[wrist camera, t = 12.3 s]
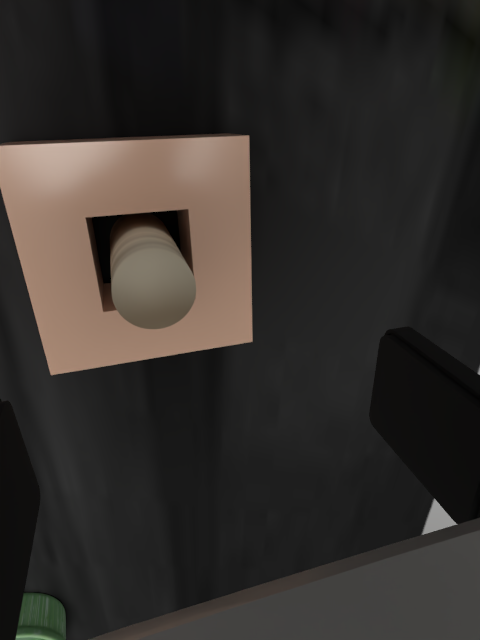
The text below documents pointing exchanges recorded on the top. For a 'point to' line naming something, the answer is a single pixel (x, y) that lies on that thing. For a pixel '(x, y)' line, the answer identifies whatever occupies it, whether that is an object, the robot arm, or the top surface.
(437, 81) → the top surface
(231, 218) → the socket
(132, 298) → the peg
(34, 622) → the ramekin
